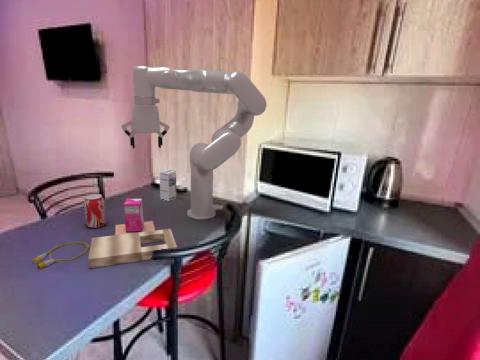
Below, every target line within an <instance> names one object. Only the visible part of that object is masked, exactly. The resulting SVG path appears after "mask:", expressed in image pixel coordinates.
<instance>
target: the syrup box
mask: <svg viewBox="0 0 480 360" xmlns="http://www.w3.org/2000/svg"><path fill="white" fill-rule="evenodd" d="M159 191H160V192H159V193H160V194H159V195H160V200H162V199H164V200H163V201H165V200H167V201H166V202H168V201H169V202H171V201H173V199H174V200H176V199H175V198H178V196H177V195H178V194H177V193H178V192H177V191H178V190H177V171H176V170H173V169H166V170H161V171H159ZM170 200H171V201H170Z"/></svg>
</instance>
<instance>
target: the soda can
mask: <svg viewBox="0 0 480 360" xmlns="http://www.w3.org/2000/svg"><path fill="white" fill-rule="evenodd" d="M83 207H84V216H85V217H84V218H85V223H86V227H88V228H92V229H97V228H101V227H103V226H104V225H105V224H106V222H107V217H106V216H107V215H106V204H105V199H104V198H103V195H102V194H100V193H92V194H87V195H85V196H84V201H83Z"/></svg>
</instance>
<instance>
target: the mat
mask: <svg viewBox="0 0 480 360" xmlns="http://www.w3.org/2000/svg"><path fill="white" fill-rule="evenodd" d="M143 222H144V227H143V230H142V232H147V231H156V228H155V224H154V220H149V221H143ZM114 232H115V233H114V235H122V234H130V233H139V232H130V233H126V228H125V223H123V224H115V231H114Z"/></svg>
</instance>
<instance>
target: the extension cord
mask: <svg viewBox="0 0 480 360" xmlns="http://www.w3.org/2000/svg"><path fill="white" fill-rule="evenodd" d="M71 244H72V245H84V246H85V247H86V249H85V250H84V251H83V252H82V253H80V254H79V255H77V256H75V257H72V258H67V259H54V258H52V256H51V255H52V253H53V251H54V250H56V249H57V248H59V247H63V246H70V245H71ZM89 248H90V246H89V243H87V242H83V241H71V242H66V243H61V244H59V245H57V246H55V247H54V248H52V249H50V250H49V251H47V252H46V253H45V252H44V253H41V254H40V255H38V256H37V257H35V258H32V260H31V262H32V263H33V264H36V266H37V267H36V268H38V269H39V270H42V269H43V268H46V267H49V266H51V265H53V264H54V263H63V262H65V261H72V260H76V259H77V258H79V257H81V256H83V255H84V254H86V253H87V252H88V251H89ZM48 254H49V258H50V259H46V260H44V259H45V258H46V257H47V256H48ZM43 260H44V261H43Z"/></svg>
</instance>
